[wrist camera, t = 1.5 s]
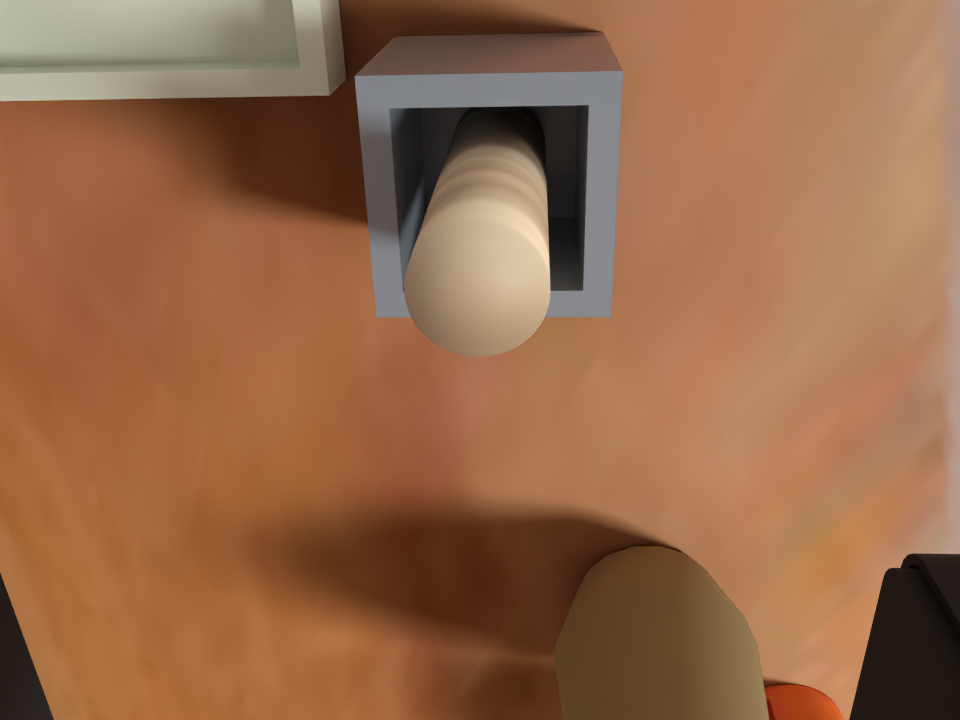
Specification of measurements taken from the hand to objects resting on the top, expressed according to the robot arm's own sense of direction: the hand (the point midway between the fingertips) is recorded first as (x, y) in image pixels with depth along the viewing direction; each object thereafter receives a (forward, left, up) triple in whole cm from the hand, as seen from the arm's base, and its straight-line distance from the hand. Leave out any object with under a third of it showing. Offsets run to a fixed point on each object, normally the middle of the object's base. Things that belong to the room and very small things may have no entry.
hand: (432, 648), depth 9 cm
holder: (0, 0, -22) cm, 22 cm away
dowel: (0, 0, -22) cm, 22 cm away
